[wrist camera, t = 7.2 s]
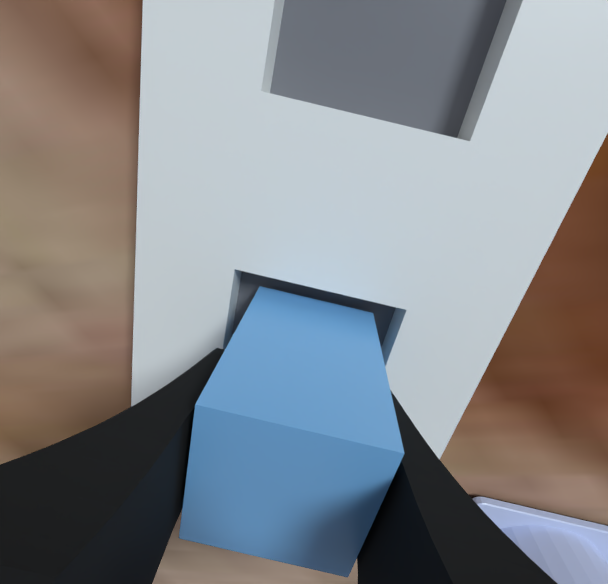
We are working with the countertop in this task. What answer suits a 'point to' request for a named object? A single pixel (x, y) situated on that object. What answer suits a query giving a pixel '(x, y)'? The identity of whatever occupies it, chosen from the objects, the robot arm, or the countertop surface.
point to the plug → (293, 436)
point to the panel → (359, 173)
